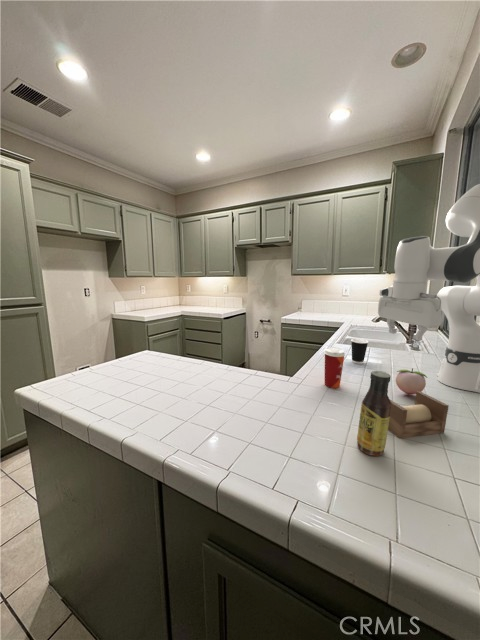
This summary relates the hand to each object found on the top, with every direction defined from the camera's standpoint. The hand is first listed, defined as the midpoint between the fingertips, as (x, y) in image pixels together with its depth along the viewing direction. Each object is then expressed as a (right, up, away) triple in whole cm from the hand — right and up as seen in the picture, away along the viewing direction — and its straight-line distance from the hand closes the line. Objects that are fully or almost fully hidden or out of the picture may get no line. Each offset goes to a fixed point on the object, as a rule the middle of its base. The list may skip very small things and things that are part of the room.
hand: (404, 336), depth 83 cm
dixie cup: (+7, -16, +48) cm, 51 cm away
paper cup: (-16, -20, +20) cm, 33 cm away
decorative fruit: (+10, -22, +13) cm, 27 cm away
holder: (-3, -25, -7) cm, 26 cm away
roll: (-3, -24, -7) cm, 26 cm away
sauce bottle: (-19, -27, -18) cm, 38 cm away
